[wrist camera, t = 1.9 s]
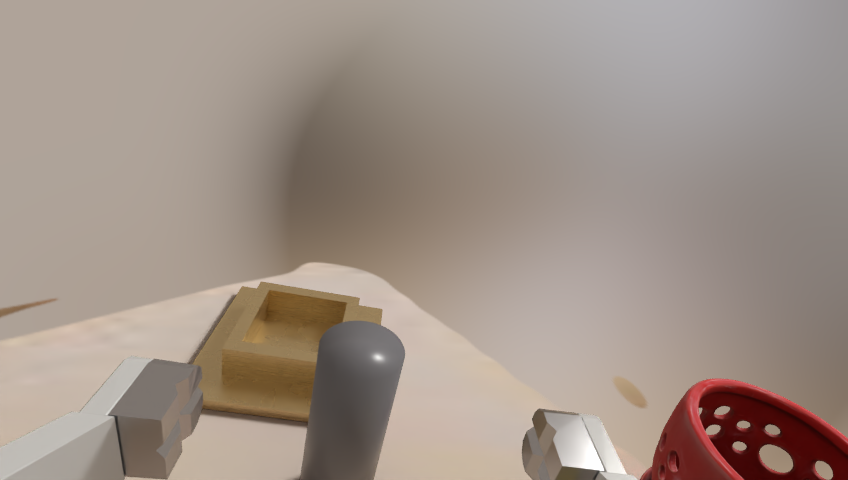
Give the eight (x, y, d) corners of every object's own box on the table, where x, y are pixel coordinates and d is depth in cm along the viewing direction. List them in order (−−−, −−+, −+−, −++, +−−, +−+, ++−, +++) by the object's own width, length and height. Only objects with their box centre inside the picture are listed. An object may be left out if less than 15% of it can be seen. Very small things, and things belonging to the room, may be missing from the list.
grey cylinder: (289, 529, 29) (310, 372, 23) (306, 461, 33) (327, 315, 27) (364, 536, 29) (404, 386, 23) (370, 468, 34) (405, 327, 28)
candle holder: (172, 404, 35) (170, 367, 33) (241, 293, 49) (242, 263, 48) (368, 430, 37) (376, 396, 35) (380, 316, 51) (386, 287, 49)
